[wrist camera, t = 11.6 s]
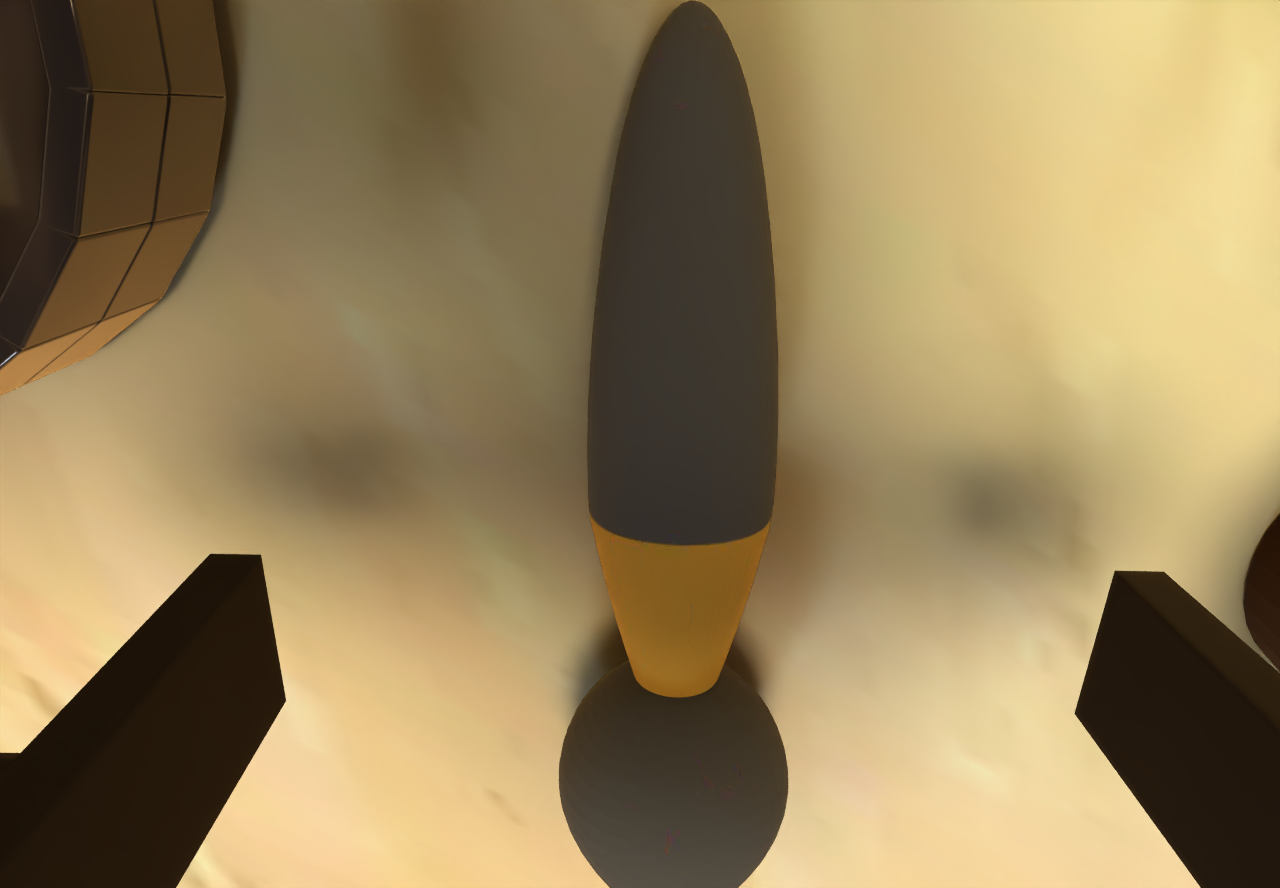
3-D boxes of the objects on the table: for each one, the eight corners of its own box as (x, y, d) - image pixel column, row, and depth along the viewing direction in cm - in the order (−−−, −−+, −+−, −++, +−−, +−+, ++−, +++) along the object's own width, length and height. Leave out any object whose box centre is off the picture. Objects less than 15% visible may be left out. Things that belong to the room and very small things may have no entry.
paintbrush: (482, 26, 15) (413, -15, 10) (758, 4, 15) (815, -47, 10) (586, 843, 22) (574, 1036, 18) (771, 832, 22) (808, 1023, 17)
